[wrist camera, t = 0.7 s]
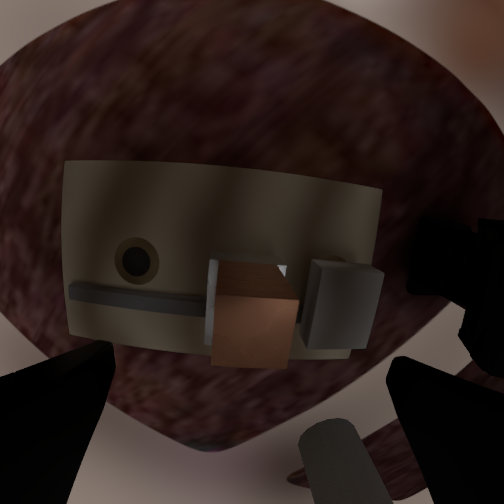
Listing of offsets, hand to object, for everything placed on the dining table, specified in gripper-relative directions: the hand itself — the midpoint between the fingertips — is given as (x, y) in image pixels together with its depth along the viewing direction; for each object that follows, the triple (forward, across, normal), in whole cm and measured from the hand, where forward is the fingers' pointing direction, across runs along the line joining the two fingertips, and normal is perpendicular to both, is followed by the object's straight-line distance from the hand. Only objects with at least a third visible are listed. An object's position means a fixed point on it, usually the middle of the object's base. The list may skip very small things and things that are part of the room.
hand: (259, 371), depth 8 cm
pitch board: (+13, +2, 0) cm, 13 cm away
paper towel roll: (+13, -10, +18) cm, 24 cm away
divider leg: (+11, 0, +1) cm, 11 cm away
